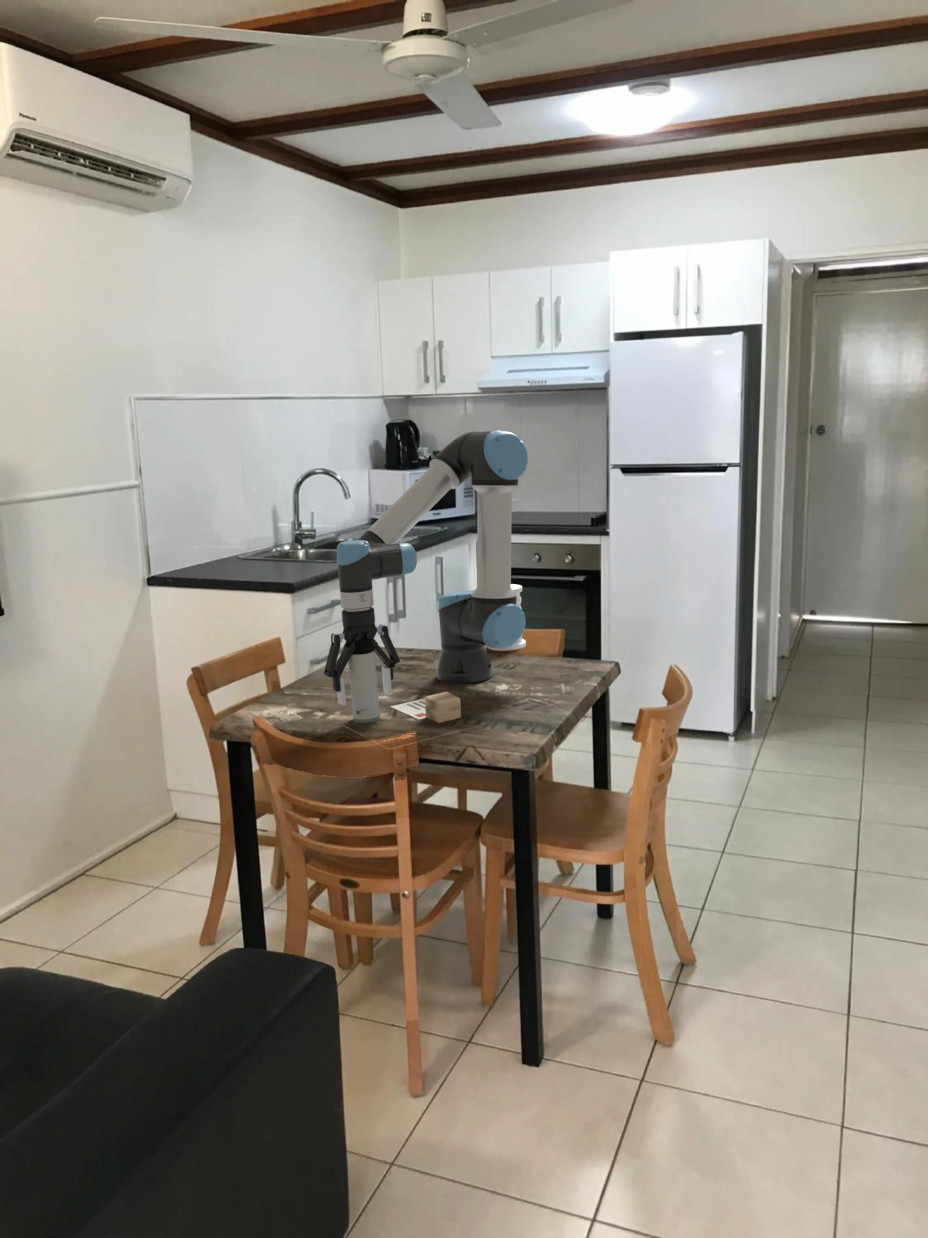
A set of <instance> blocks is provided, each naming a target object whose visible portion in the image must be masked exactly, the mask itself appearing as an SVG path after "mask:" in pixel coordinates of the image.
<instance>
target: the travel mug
mask: <svg viewBox="0 0 928 1238" xmlns="http://www.w3.org/2000/svg"><path fill="white" fill-rule="evenodd" d="M351 644H352V643H351ZM351 644H349V642H348V643H347V647H350V646H351ZM354 644H355V650H354V652H353V653H352V654H351V656H350V658H349V660H348V662H347V664H348V673H349V685H350V686H349V687H350V695H351V696H350V697H351V707H352V718H353V719H352V720H353V722H354V723H359V724H369V723H374V722H376V721H378V720H380V718H381V714H380V702H379V693H378V692H379V690H378V678H377V677H378V676H377V665H376V664H377V663H376V653H375V651H374V644H373V639H371V640H368V639H365V640H360V642H354Z"/></svg>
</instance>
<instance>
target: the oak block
mask: <svg viewBox="0 0 928 1238" xmlns="http://www.w3.org/2000/svg"><path fill="white" fill-rule="evenodd" d="M424 698H425V711H426V717H427V719H429V720H432V721H434V722H436V723H438V724H441V723H446V722H448V721H454V720H456V719H461V718H462V710H461V708H462V704H461V698H460V697H458V696H457V695H455V694H453V693H450V692H448V691H444V692H443V691H442V692H439V693H435V694H432V695H430V694H429V695H427V696H426V695H425V696H424Z"/></svg>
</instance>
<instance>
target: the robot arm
mask: <svg viewBox="0 0 928 1238" xmlns="http://www.w3.org/2000/svg"><path fill="white" fill-rule="evenodd" d="M528 460H529V456H528V451H527V448H526V445H525V443H524V442H523V440H521V438H520V437H519V435H517V434H515V433H513V432H510V431H503V430H493V431H492V430H489V431H470V432H468V431H467V432H466V433H463V434H461V435H459V436H457V437H456V438H455V439H453V440H451V442H450V443H448V444H447V445H446V446H444V447H443V449H441V450H440V451H439V452H438V453H437V454H436V455H435V456H434V457H433V458H432V459H431V460H430V461H429V467H428V469H426V471H424V472H423V474H422V475H421V476H420V477H419V478H418V479H416V481H415V482H414V483H413V484H411V486H410V487H409V488H408V489H406V491H405V492H404V493H403V494H402V495H401V496H400V497H398V499H397V500H396V501H394V503H393V504H392V505H391V506H390V507H389V508H388V509H387V510H386V511H385V512H384V513H383V514H382V515H381V516H380V517H379V518H378V519H377V520H376V521H375V522H374V523H373V524H372V525H371V526H370V527H369V528H368V529H367V530H366V531H365V532H364V533H363V534H362V535H361V536H360V537H359V538H358V539H357V538H356V539H355V538H354V539H350V540H347V541H345V540H344V541H341V542H339V543H338V544H337V546H336V564H337V571H338V573H337V574H338V584H339V594H340V595H339V597H340V607H341V609H342V611H341V619H342V621H341V623H342V628H343V630H342V632H341V633H334V632H333V633H331V634H330V647H329V650H328V654H327V659H326V663H325V667H324V671H323V676H326V677H328V678H331V679H332V680H331V681H332V689H333V691H334V692H336V697H337V704H339V705H340V706H346V705H347V702H346V690H345V677H343V676H342V675H343V673H344V670H345V668H346V666H347V664H348V660H349V658H350V656H351V654H352V653H353V652H354V650H355V644H354V642H360V640H365V639H368V640H371V639H373V644H374V651H375V652H374V653H375V656H377V657H378V659H380V661H381V662H382V663H383V665H384V666H381V676H382V687H383V694H384V695H388V696H391V695H393V691H392V680H394V668H395V667H396V664H399V663H400V662H401V660H400V657H399V655H398V652H397V650H396V647H395V646H394V643H393V642H392V639H391V637H390V635H389V633H390V632H389V627H388V626H387V625H385V624H379V625H378V626H376V614H375V608H374V607H373V606H374V603H375V602H374V592H373V591H374V590H373V589H374V588H373V581H374V580H379V579H380V580H381V579H384V578H386V579H387V578H391V577H397V576H398V577H399V576H401V577H403V576H404V575H408V574H411V573H414V571H415V570H416V568H417V565H418V559H417V552H416V549H415V548H414V546H413V545H412V544H410V543H409V542H400V541H401V540H402V539H403V538H404V537H405V536H406V535H407V534H408V533H409V532H410V531H411V530H412V528H413V527H415V526H416V525H417V523H419V521H420V520H422V519H423V517H424V516H426V515H427V513H428V512H429V511H430V510H431V509H432V508H434V506H435V505H436V504H437V503H438V502H440V500H441V499H442V498H443V497H444V496H445V495H446V494H447V493H448V492H449V491H450V490H456V489H458V488H459V487H460V486H461V485H462V483H464V482H465V481H468V480H471V487H472V488H473V489H474V490H475V491H476V492H477V522H476V523H477V529H476V531H477V534H476V536H477V538H476V540H477V542H476V544H477V545H476V547H477V549H476V550H477V552H476V553H477V554H476V555H477V556H476V588H475V589H473V590H462V591H458V592H457V591H456V592H452V593H451V592H449V593H446V594H442V595H441V596H440V597H439V599H438V609H437V611H438V617H439V630H440V631H439V632H440V646H441V650H440V654H439V655H440V656H439V658H438V662H437V666H436V679H437V680H439V681H441V682H444V683H449V684H471V683H478V682H482V681H483V682H484V681H486V680H489V679H490V678H492V677H493V675H494V673H493V672H494V671H493V668H494V667H493V665H492V662H491V660H490V657H489V655H488V653H487V648H488V647H491V648H508V647H510V646H512V645H514V644H515V643H516V642H517V640H518V639H519V638H520V637H521V636H522V637H523V635H524V631H525V627H526V615H525V613H524V611H523V608H522V607H521V608H520V607H519V606H517V595H516V593H515V592H514V591H513V590H512V589H511V584H512V514H513V513H512V508H513V507H512V505H513V504H512V503H513V502H512V501H513V500H512V497H513V495H512V494H513V492H514V491H515V490H516V489H517V488H518V486H519V478H520V477H521V476H522V475H523V474H524V471H526V469H527V466H528V462H529V461H528ZM376 635H379V637H380V640H381V642H382V645H383V646H384V648H385V651H386V652H387V654H386V652H385V651H384V650H383V649H382V647H381V646H380V645H379V643H378V642H377V640H376V639H375V637H376ZM343 640H344V641H345V643H344V645H343V647H342V651H341V653H340V648H341V644H342V643H343ZM348 642H349V644H351V643H352V644H351V646H350V647H347V643H348ZM486 647H487V648H486ZM339 653H340V655H339Z"/></svg>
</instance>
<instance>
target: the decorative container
mask: <svg viewBox="0 0 928 1238" xmlns="http://www.w3.org/2000/svg"><path fill="white" fill-rule="evenodd" d="M511 589H512V590H513V591H514V592H515V593H516V595H517V606H519V607H520V608H521V609H522V606H521V604H522V597H521V592H523V586H522V585H520V584H514V583H511ZM526 646H527V641H526V639H524V638H523V635H522V636H521V637H520V638H519V639H518V640H517V642H516V643H515V644H514V645H512V646H510V647H508V648H491V647H488V646H487V649H489V650H492V651H496V652H497V651H499V652H502V651H503V652H507V651H508V652H509V651H515V650H516V651H517V650H521V649H524V648H526Z"/></svg>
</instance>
